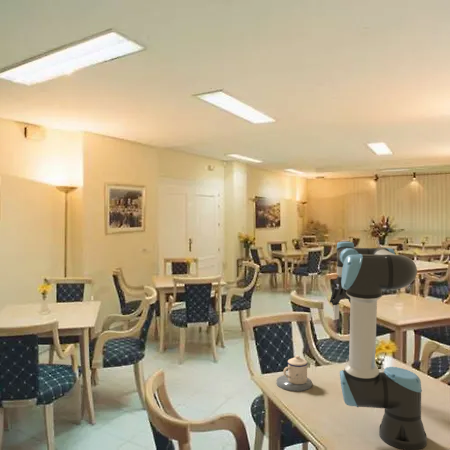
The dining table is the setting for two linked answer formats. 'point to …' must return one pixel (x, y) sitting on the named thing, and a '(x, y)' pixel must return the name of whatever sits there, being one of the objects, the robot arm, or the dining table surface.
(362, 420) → the dining table surface
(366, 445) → the dining table surface
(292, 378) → the teacup with lid
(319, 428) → the dining table surface
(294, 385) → the pad
